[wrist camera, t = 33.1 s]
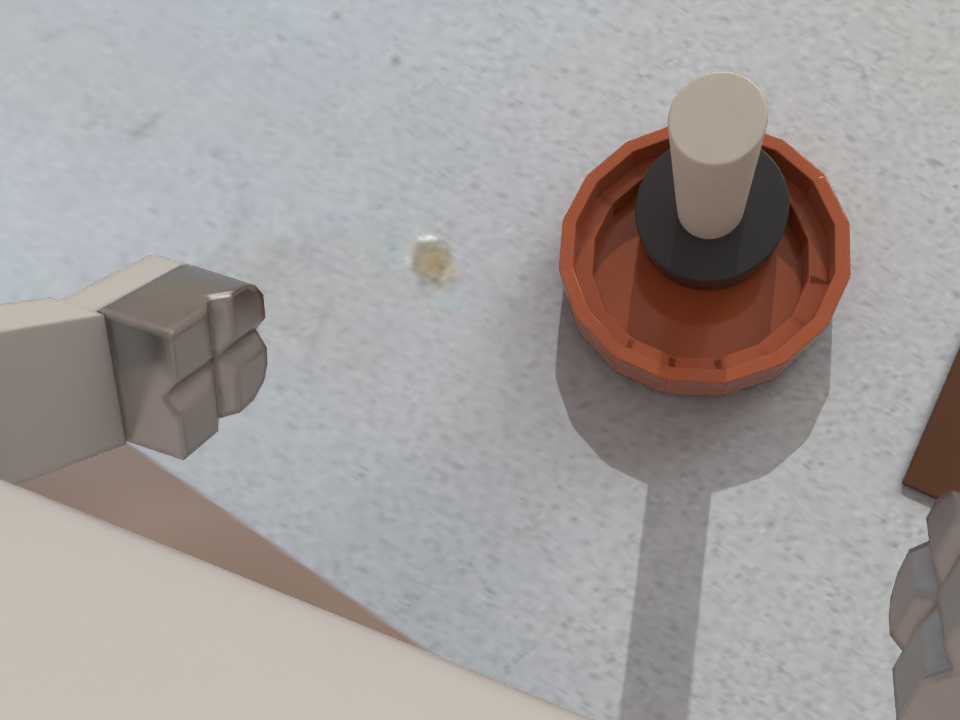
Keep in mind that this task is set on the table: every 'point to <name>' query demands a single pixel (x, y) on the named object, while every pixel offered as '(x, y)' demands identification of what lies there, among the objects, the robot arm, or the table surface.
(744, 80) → the brush
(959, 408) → the board
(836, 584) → the table surface
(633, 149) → the dish
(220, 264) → the table surface
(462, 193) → the table surface
